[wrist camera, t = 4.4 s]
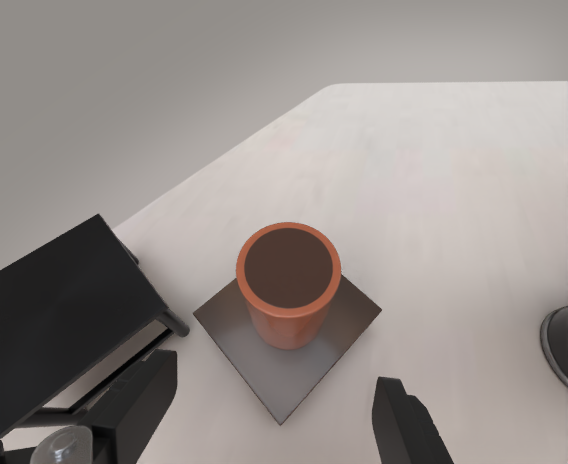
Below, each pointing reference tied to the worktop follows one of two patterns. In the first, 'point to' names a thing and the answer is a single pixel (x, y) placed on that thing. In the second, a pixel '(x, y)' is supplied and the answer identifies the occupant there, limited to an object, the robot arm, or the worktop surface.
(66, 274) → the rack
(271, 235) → the cup
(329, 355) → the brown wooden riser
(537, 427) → the worktop surface
